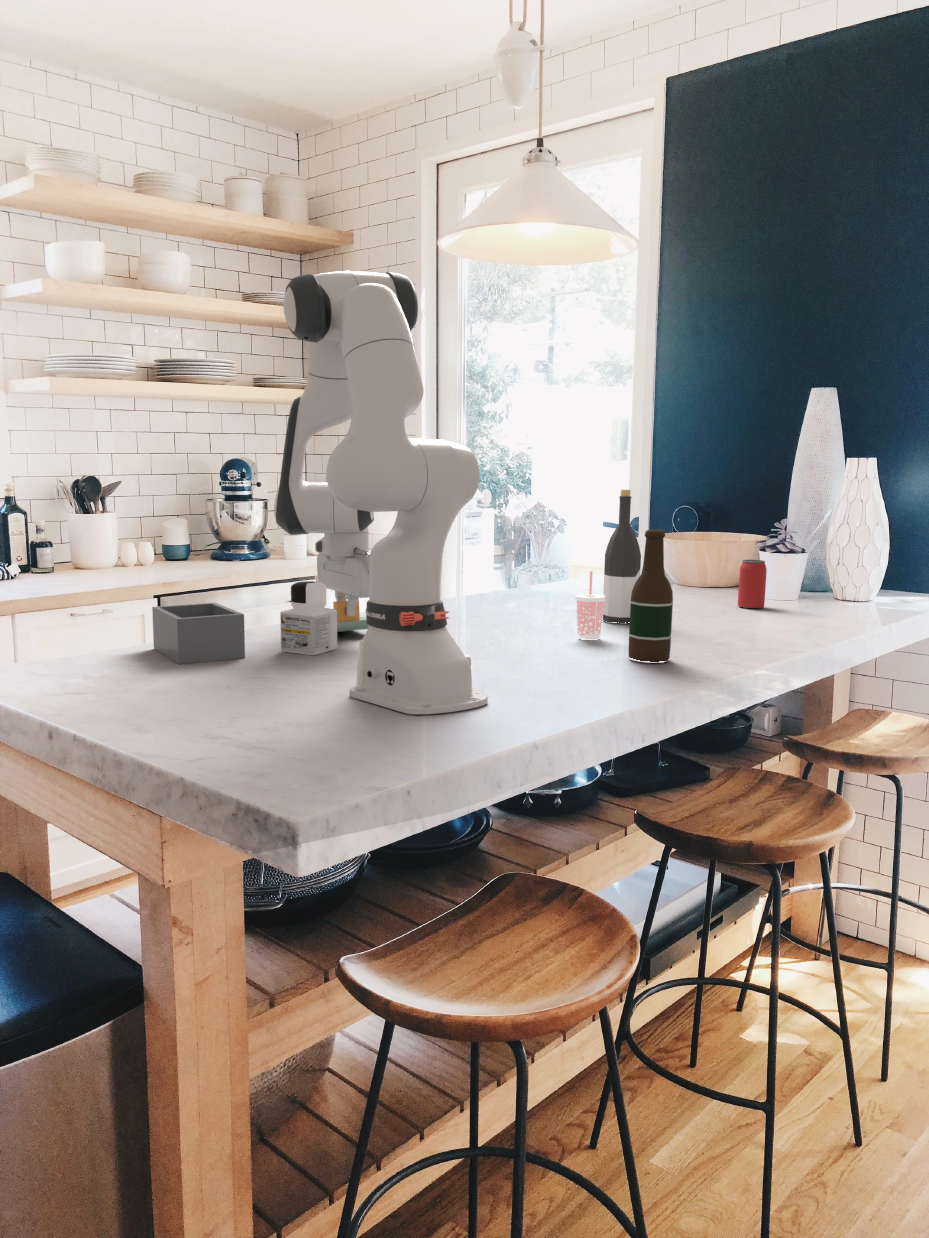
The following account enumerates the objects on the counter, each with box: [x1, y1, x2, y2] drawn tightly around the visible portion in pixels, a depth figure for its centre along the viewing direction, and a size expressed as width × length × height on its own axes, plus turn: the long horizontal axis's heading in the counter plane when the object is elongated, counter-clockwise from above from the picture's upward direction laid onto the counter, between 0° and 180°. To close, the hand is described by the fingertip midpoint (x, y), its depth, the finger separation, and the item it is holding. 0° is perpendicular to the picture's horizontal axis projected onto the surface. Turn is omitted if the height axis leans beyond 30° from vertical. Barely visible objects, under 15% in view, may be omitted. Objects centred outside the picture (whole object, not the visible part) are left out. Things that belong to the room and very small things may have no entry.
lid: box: [332, 599, 369, 633], centre depth 200 cm, size 16×12×6 cm
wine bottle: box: [602, 489, 642, 623], centre depth 219 cm, size 8×8×30 cm
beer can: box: [737, 559, 767, 610], centre depth 245 cm, size 7×7×12 cm
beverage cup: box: [574, 571, 605, 639], centre depth 197 cm, size 6×6×14 cm
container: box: [279, 580, 338, 656], centre depth 181 cm, size 8×8×13 cm
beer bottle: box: [628, 529, 674, 662], centre depth 176 cm, size 8×8×24 cm
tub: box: [151, 602, 246, 665], centre depth 177 cm, size 16×12×8 cm
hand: (346, 614), depth 195 cm, fingers closed on lid
